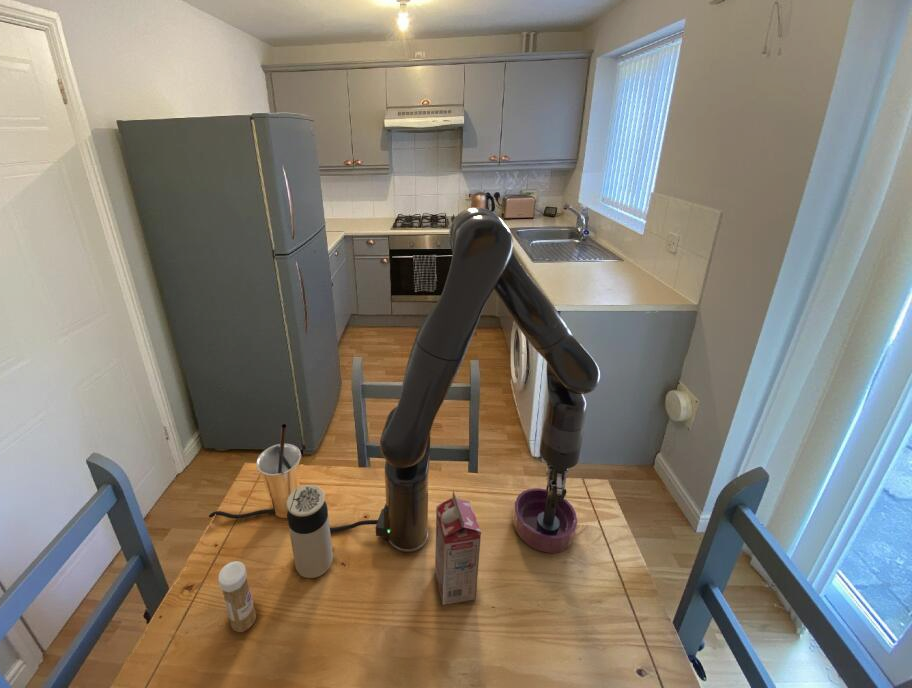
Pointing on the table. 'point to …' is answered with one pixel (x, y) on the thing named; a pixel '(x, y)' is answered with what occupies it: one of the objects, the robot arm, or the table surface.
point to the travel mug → (309, 531)
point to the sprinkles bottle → (237, 596)
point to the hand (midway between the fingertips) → (551, 501)
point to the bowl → (526, 521)
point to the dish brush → (548, 521)
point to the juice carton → (456, 550)
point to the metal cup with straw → (280, 472)
